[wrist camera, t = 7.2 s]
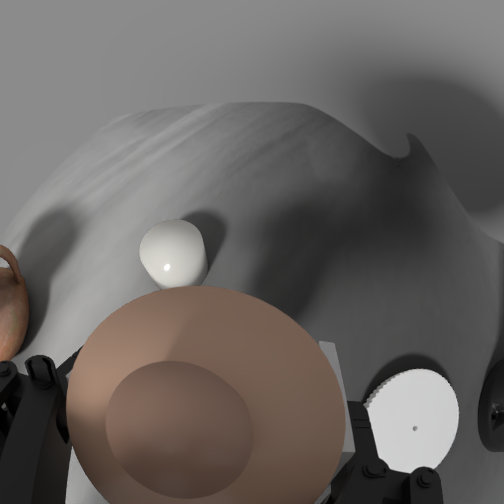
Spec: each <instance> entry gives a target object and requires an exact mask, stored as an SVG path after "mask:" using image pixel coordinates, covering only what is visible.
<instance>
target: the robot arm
mask: <svg viewBox="0 0 504 504" xmlns="http://www.w3.org/2000/svg"><path fill="white" fill-rule="evenodd" d="M83 346H84V345H83ZM83 346H82V347H83ZM318 346H319V347H320V349H321V350H322V351H323V353H324V354H325V356H326V357H327V359H328V361H329V363H330V365H331V367H332V369H333V370H334V372H335V374H336V377H337V380H338V383H339V386H340V389H341V392H342V396H343V402H344V407H345V421H346V430H345V439H344V446H343V450H342V454H341V457H340V461H339V464H338V466H337V468H336V471H335V473H334V475H333V477H332V479H331V481H330V482H329V484H328V485H327V487H328V486H329V485H330V484H331V493H330V494H329V495H328V496H327V497H326V498H325V499H324V500H323V501H322V503H321V504H443V495H442V487H441V480H440V477H439V474H438V473H437V472H436V471H435V470H434V469H432V468H430V467H425V466H423V467H418V468H416V469H415V470H413V471H412V472H411V473H406V472H401V471H395V470H392V469H390V468H389V466H388V464H387V463H386V462H385V461H384V460H382V459H380V458H379V456H378V452H377V447H376V443H375V439H374V434H373V430H372V429H371V428H372V426H371V422H370V418H369V414H368V410H367V409H366V408H365V406H364V405H363V404H362V403H361V402H356V401H347V400H346V395H345V390H344V385H343V380H342V376H341V371H340V366H339V362H338V357H337V352H336V348H335V344H334V343H331V342H324V341H319V344H318ZM82 347H81V348H80V349H79V350H78V351H76V352H75V353H74V354H73V355H72V357H71V356H70V357H69V358H68V359H67V360H66V361H65V362H64V363H62V364H61V365H60V366H59V367H58V368H57V369H56V367H55V364H54V362H53V360H52V359H51V358H50V357H47V356H45V355H36V356H32V357H30V358H28V359H27V360H26V361H25V366H26V369H27V372H28V375H29V376H27V375H24V374H21V373H19V372H18V369H17V367H16V365H15V364H14V363H13V362H11V361H8V360H6V361H0V504H65V500H66V488H67V479H68V470H69V463H70V456H71V450H72V443H71V439H70V435H69V430H68V425H67V415H66V400H67V390H68V384H69V379H70V375H71V372H72V369H73V366H74V363H75V361H76V359H77V357H78V355H79V352H80V350H81V349H82ZM4 402H5V404H6V407H5V408H4V409H2V408H1V406H2V405H3V404H4ZM478 428H479V434H480V438H481V441H482V443H483V445H484V446H485V447H486V448H487V449H488V450H489V451H492V452H504V359H503V360H501V361H500V362H499V363H497V364H496V365H495V366H494V368H493V369H492V371H491V372H490V374H489V376H488V378H487V380H486V382H485V385H484V388H483V391H482V394H481V399H480V404H479V412H478ZM327 487H326V488H327Z"/></svg>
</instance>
